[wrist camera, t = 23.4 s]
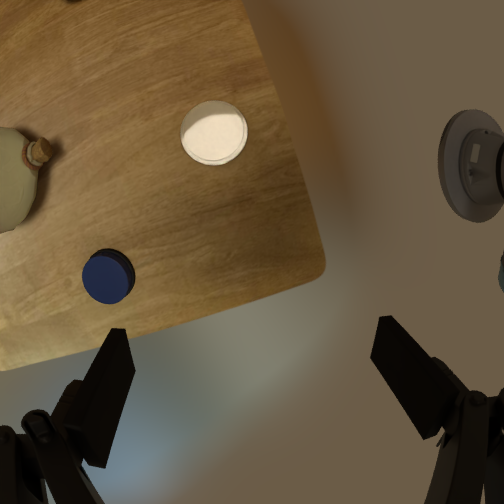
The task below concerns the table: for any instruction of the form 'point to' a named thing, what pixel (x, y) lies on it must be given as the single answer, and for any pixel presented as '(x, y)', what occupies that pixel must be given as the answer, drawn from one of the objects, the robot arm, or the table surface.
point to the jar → (214, 132)
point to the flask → (19, 175)
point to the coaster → (124, 260)
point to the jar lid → (107, 278)
